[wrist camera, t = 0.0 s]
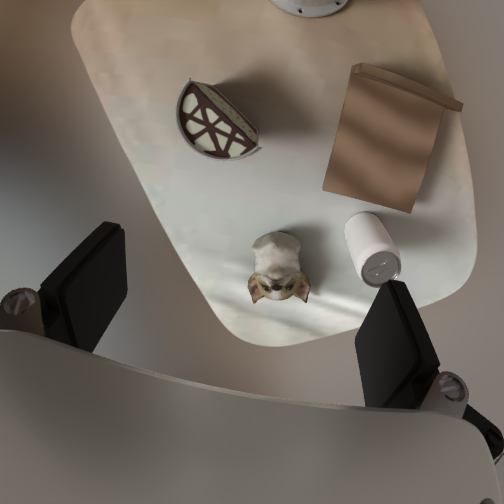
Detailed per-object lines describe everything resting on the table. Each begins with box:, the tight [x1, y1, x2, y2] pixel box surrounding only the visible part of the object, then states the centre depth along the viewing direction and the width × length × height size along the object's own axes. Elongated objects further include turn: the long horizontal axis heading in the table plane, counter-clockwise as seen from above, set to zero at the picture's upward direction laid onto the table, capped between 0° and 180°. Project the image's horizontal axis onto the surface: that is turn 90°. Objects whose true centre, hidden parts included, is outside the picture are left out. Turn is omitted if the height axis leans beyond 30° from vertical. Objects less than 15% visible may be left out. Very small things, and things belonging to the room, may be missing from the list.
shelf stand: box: [322, 63, 463, 213], centre depth 37 cm, size 18×14×9 cm
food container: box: [175, 78, 261, 161], centre depth 38 cm, size 12×6×10 cm, turn 43°
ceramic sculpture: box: [248, 232, 311, 303], centre depth 50 cm, size 11×9×15 cm
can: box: [344, 212, 401, 288], centre depth 44 cm, size 6×6×12 cm
